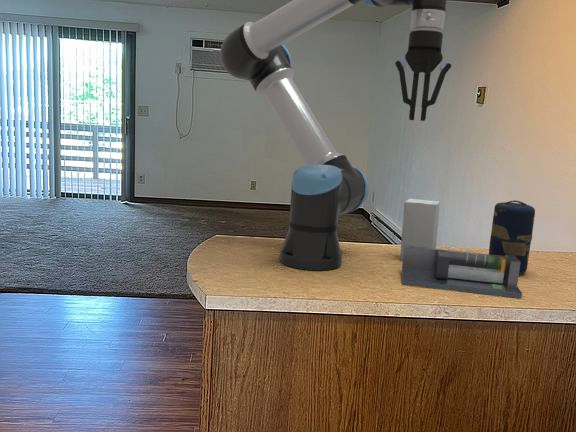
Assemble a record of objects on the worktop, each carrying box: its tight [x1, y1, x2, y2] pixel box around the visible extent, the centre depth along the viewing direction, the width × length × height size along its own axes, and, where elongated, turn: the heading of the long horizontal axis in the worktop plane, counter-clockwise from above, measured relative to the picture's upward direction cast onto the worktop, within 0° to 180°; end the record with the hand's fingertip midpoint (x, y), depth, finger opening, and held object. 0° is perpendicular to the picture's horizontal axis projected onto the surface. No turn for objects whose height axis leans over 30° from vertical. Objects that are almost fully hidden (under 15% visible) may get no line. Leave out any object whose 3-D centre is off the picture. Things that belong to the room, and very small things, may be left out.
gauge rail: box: [401, 246, 523, 299], centre depth 127 cm, size 25×12×7 cm, turn 79°
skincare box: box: [399, 198, 441, 260], centre depth 146 cm, size 8×7×16 cm
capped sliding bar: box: [435, 251, 506, 284], centre depth 127 cm, size 14×5×6 cm, turn 79°
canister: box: [488, 200, 536, 275], centre depth 140 cm, size 10×10×18 cm
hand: (415, 134), depth 134 cm, fingers closed
